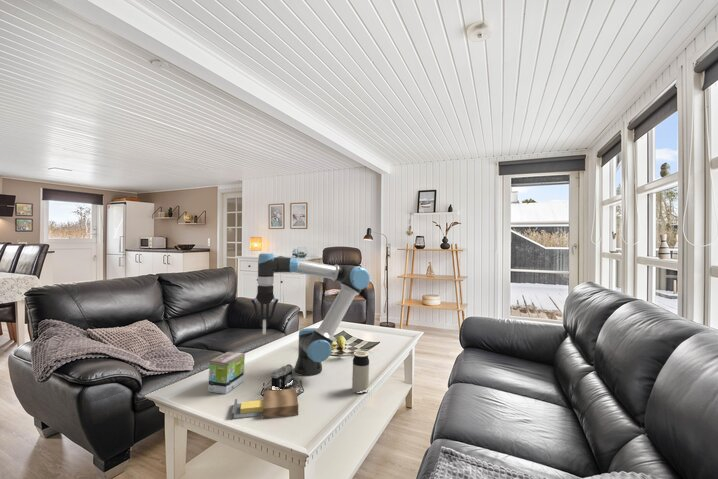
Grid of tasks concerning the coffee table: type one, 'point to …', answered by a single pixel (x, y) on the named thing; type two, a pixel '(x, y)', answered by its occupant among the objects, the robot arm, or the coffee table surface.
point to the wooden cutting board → (280, 403)
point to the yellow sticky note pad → (251, 406)
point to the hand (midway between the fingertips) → (264, 333)
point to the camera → (282, 376)
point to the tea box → (226, 372)
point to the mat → (237, 414)
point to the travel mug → (360, 371)
